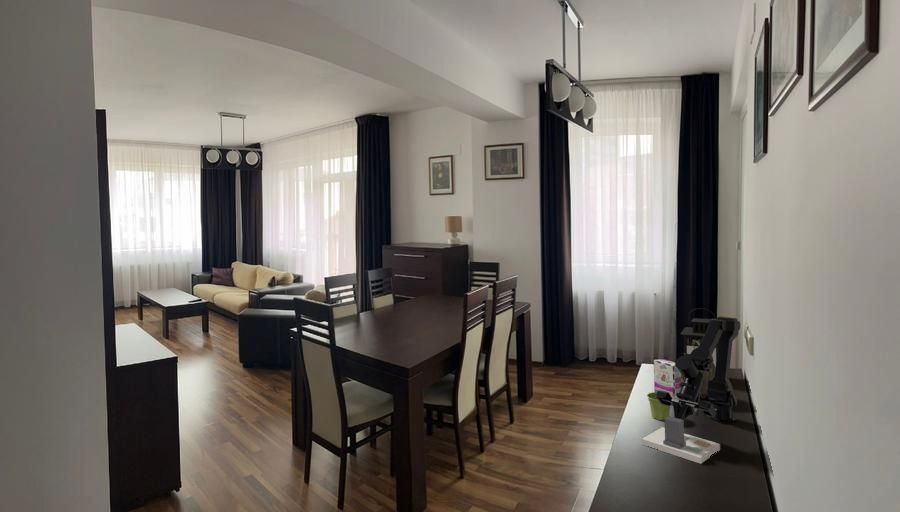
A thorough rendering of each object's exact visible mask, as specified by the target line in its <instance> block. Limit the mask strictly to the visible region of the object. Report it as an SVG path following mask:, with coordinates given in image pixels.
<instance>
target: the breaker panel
mask: <svg viewBox="0 0 900 512" xmlns="http://www.w3.org/2000/svg"><path fill="white" fill-rule="evenodd" d="M664 440H665V427H664V426H661V427H660V428H659V429H657V430H655V431H653V432H651V433H650V434H648V435H646V436H645V437H643V438H641V445H643V446H645V447H648V446H649V447H648V448H651V447H652V449H654V448H655V449H654V450H657V449H658V451H661V452H664V453H666V454H669V455H672V456H676V457H678V458H679V457H680V458H682V459H685V460H687V461H692V462H693V463H697V464H700V465H702V464H703V463H704V462H705V461H707V460H708V459H710V458H711V457H712V456H713V455H712V454H714V453H715V452H716V453H718V452H719V451H720V450H721V443H718V442H715V441H711V440H708V439H704V438H701V437H697V436H694V435H691V434H688V433H684V441H685V442H686V445H685V446H683V447H682V448H680V449H679V448H676V447H672V446H669V445H666V444H663V441H664ZM717 451H718V452H717ZM716 453H715V454H716ZM715 454H714V455H715ZM711 455H712V456H711ZM710 456H711V457H710Z"/></svg>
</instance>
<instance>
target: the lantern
mask: <svg viewBox="0 0 900 512" xmlns="http://www.w3.org/2000/svg"><path fill="white" fill-rule="evenodd" d="M695 310H705V311H707V312H710V313H711V314H712V315H713V317H714V319H717V318H716V315H715V314H714V312H712V311H711V310H710V309H707V308H702V307H700V308H694V309H692V310H691V311H690V312H689V313H688V316H691V313H692V312H694V311H695ZM712 319H713V318H696V317H694V318H692V320H691V319H690V317H688V320H689V321H690V322H691V323H692V327H688V326H686V327H684V329H683V330H682V331H681V333H680V335H683V351H684V353H683V354H685V353H686V354H691V352H692V351H693V350H694V348H693V341H697V342H699V344H700V343H701V341H702V339H703V337H704V335H705V333H706V331H707V329H708V327H709V321H710V320H712ZM694 347H695V348H696V347H699V345H698V343H696V342H694ZM717 348H718V343H717V345H716V347H715V349H714V351H713V354H712V357H713V360H714V361H713V363H714V364H715V367H716V357H717Z"/></svg>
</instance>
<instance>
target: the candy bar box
mask: <svg viewBox="0 0 900 512" xmlns="http://www.w3.org/2000/svg"><path fill="white" fill-rule="evenodd" d="M681 382H682V375H681V373H680V372H679V370H678V369H677V367H676V365H675V361H671V360H668V359H663V358H658V359H654V360H653V383H654V385H653V386H654V392H657V391H659V390H660V391H665V392H669V394H670V395H672V396H673V397H677V396H676V393H677V392H678V393H679V391H680V388H681V386H680V383H681Z"/></svg>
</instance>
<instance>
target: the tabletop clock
mask: <svg viewBox="0 0 900 512" xmlns="http://www.w3.org/2000/svg"><path fill="white" fill-rule="evenodd" d="M694 342H696V343H698V345H700V344H699V342H697V341H693V348H694V349H696V348H697V347H696V348H695V347H694ZM699 371H700V370H699ZM701 372H702V374H703V375H704V378H705V382H702V385H701V388H700V391H699V393H700V397H701V398H702V399H706V394H707V388H708V382H709V380H712V379H713V378H714V376H715V364H714V363H713V367H712V369H710V371H707V372H706V371H701ZM684 378H685V377H683V376H682V383H683V380H684ZM700 397H699V399H700Z"/></svg>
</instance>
